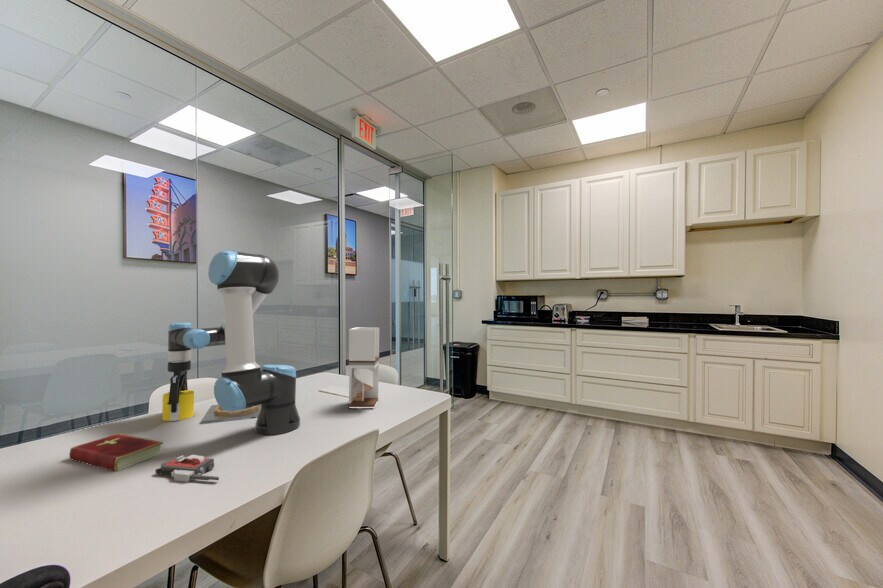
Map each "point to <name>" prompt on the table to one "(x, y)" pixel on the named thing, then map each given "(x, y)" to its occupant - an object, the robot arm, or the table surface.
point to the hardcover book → (116, 451)
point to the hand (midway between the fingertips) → (178, 416)
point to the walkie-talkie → (187, 468)
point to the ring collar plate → (229, 414)
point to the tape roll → (184, 405)
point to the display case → (363, 366)
